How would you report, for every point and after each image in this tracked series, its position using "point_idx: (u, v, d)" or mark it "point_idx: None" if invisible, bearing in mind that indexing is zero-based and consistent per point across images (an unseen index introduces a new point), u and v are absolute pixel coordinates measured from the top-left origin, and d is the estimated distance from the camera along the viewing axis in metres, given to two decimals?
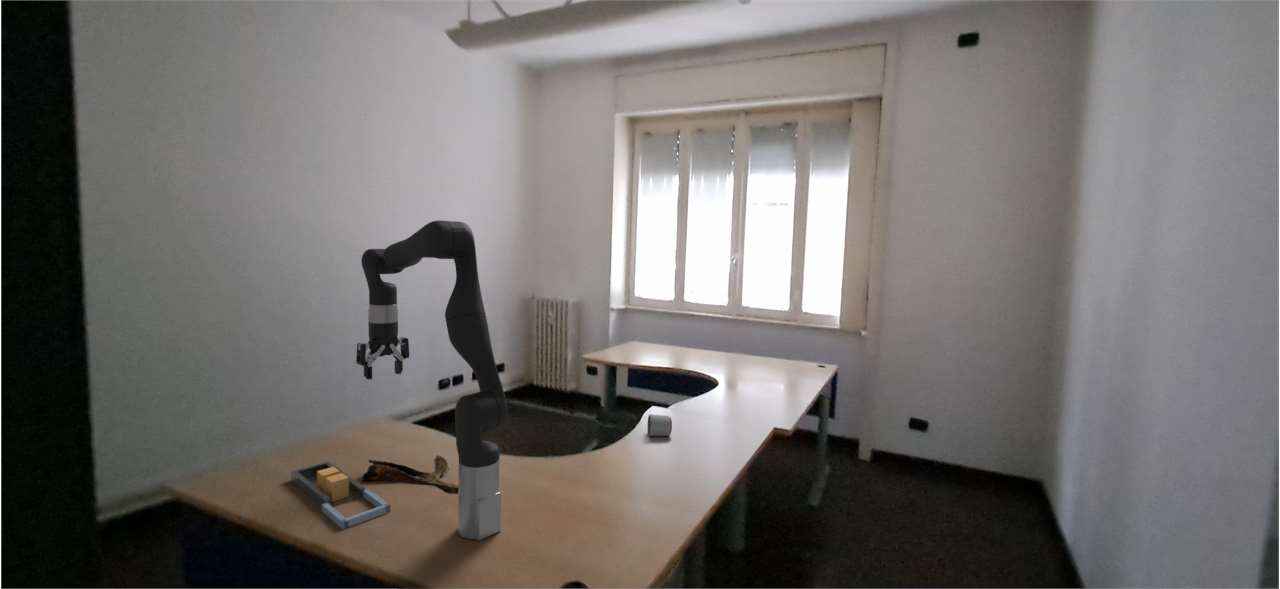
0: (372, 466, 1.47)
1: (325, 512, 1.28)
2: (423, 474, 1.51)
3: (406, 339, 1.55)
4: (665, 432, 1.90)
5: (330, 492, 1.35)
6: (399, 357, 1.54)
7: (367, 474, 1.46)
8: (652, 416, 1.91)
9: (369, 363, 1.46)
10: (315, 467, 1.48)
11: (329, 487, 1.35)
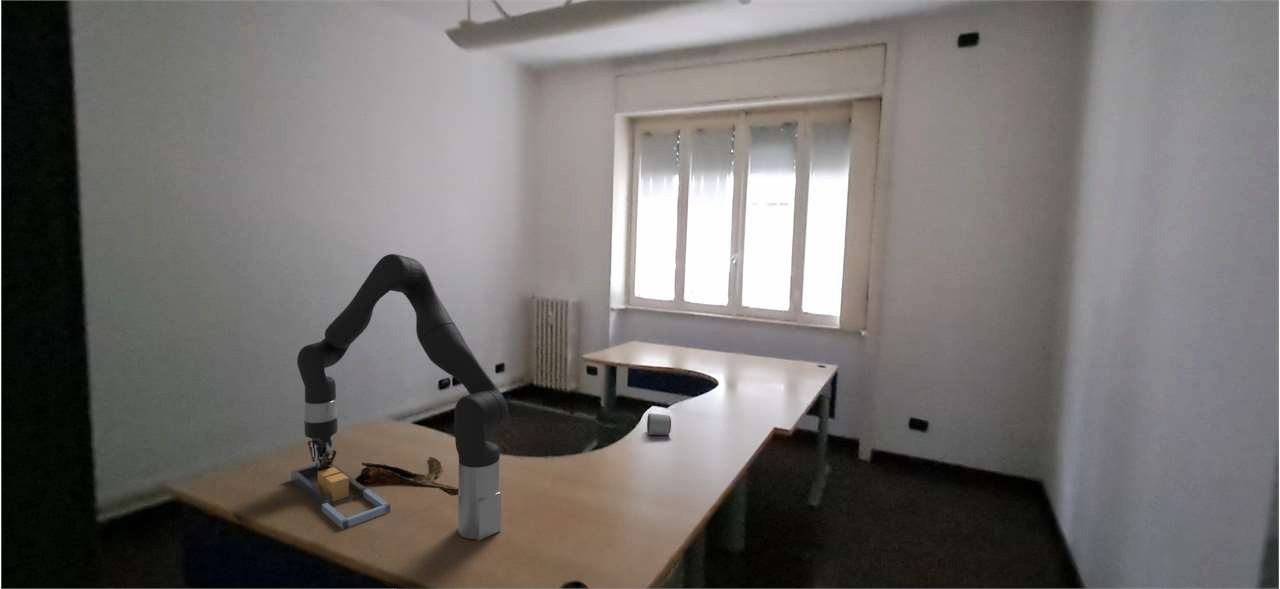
0: (365, 469, 1.46)
1: (325, 512, 1.28)
2: (417, 476, 1.49)
3: None
4: (664, 431, 1.91)
5: (330, 492, 1.35)
6: None
7: (360, 477, 1.44)
8: (651, 415, 1.93)
9: None
10: (315, 467, 1.48)
11: (329, 487, 1.35)
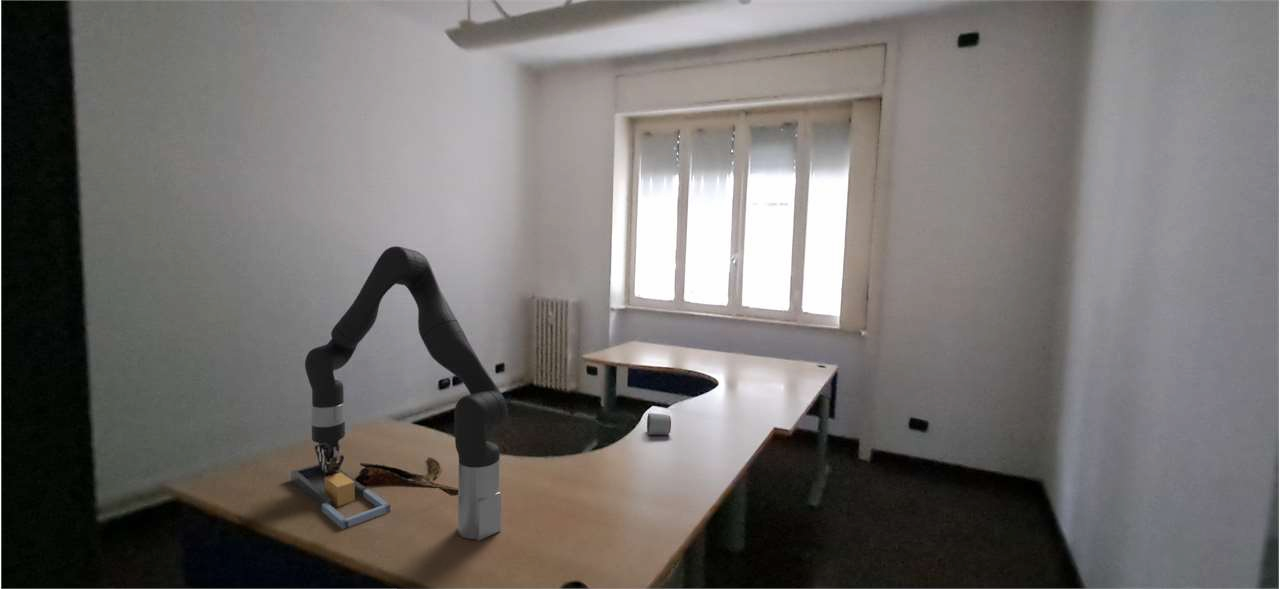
0: (364, 469, 1.45)
1: (325, 512, 1.28)
2: (416, 476, 1.49)
3: None
4: (664, 431, 1.92)
5: (336, 496, 1.33)
6: None
7: (359, 477, 1.44)
8: (651, 415, 1.93)
9: None
10: (315, 467, 1.48)
11: (335, 492, 1.33)
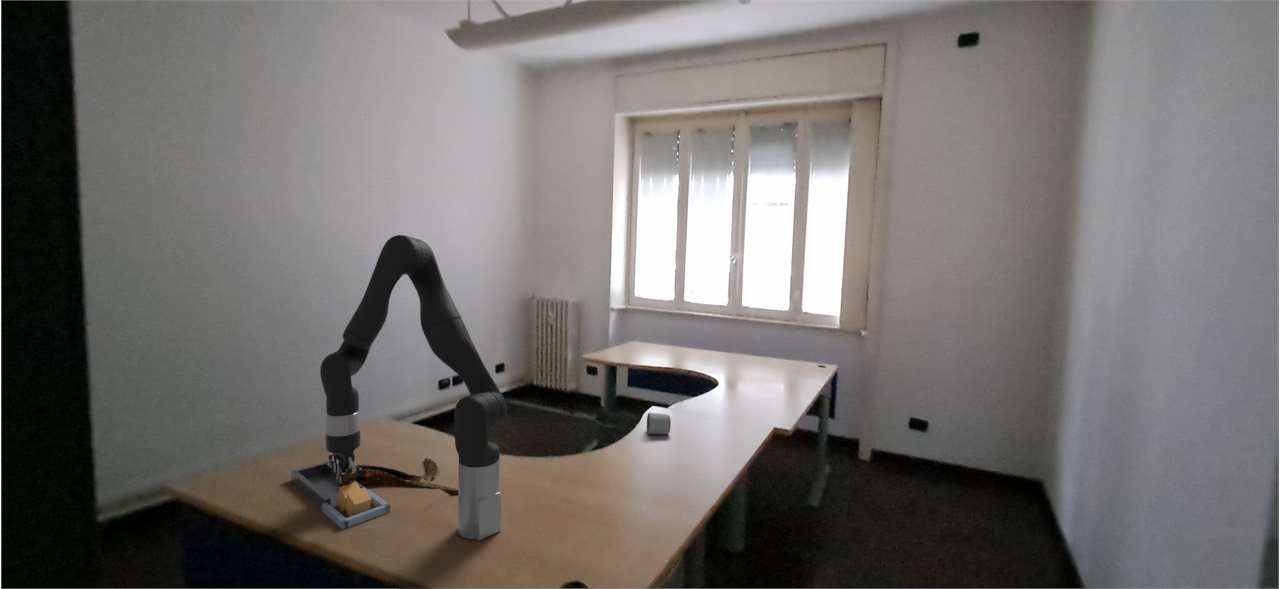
0: (361, 471, 1.44)
1: (325, 512, 1.28)
2: (414, 477, 1.48)
3: None
4: (663, 430, 1.92)
5: (350, 510, 1.27)
6: None
7: (356, 479, 1.43)
8: (651, 414, 1.93)
9: None
10: (315, 467, 1.48)
11: (350, 505, 1.27)
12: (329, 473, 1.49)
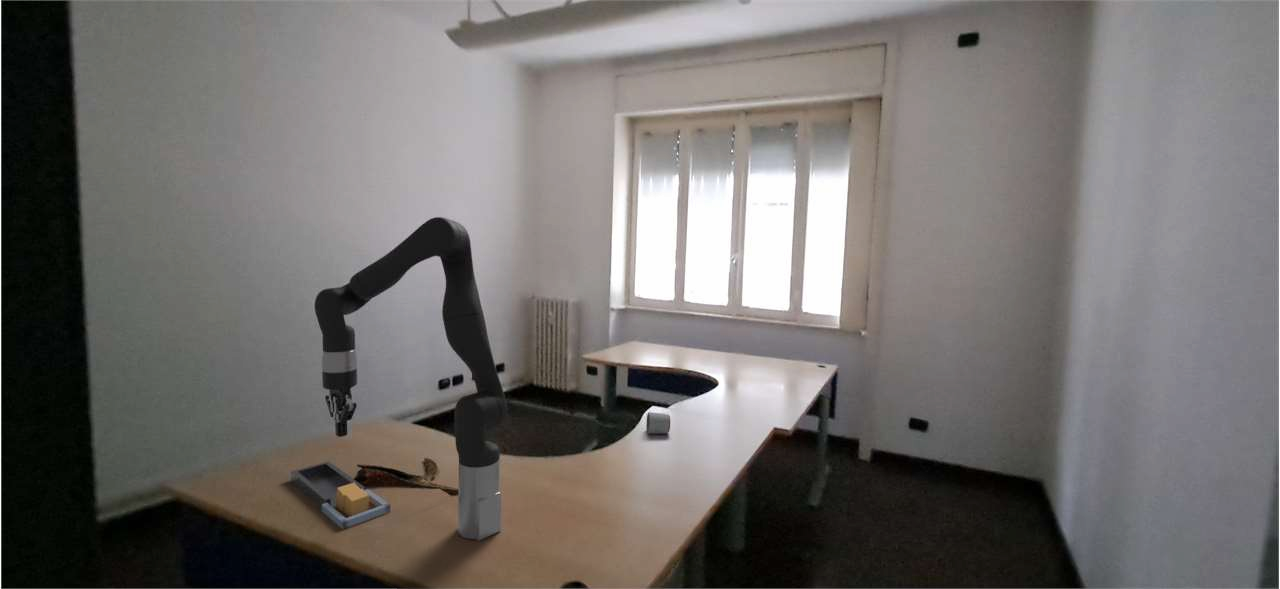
0: (361, 470, 1.44)
1: (325, 512, 1.28)
2: (414, 477, 1.48)
3: None
4: (663, 430, 1.93)
5: (349, 510, 1.28)
6: None
7: (356, 479, 1.43)
8: (651, 414, 1.94)
9: None
10: (315, 467, 1.48)
11: (348, 505, 1.28)
12: (329, 473, 1.49)
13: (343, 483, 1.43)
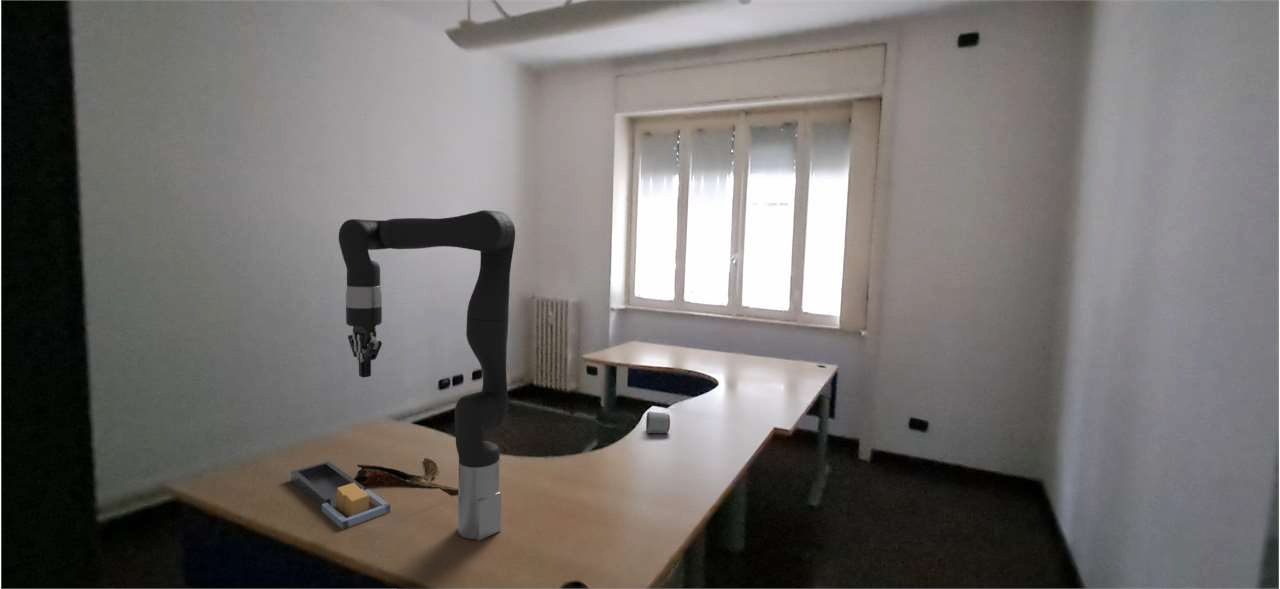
0: (361, 471, 1.44)
1: (325, 512, 1.28)
2: (414, 477, 1.48)
3: None
4: (663, 429, 1.93)
5: (349, 510, 1.28)
6: None
7: (357, 479, 1.43)
8: (650, 413, 1.94)
9: None
10: (315, 467, 1.48)
11: (348, 505, 1.28)
12: (329, 473, 1.49)
13: (343, 483, 1.43)
